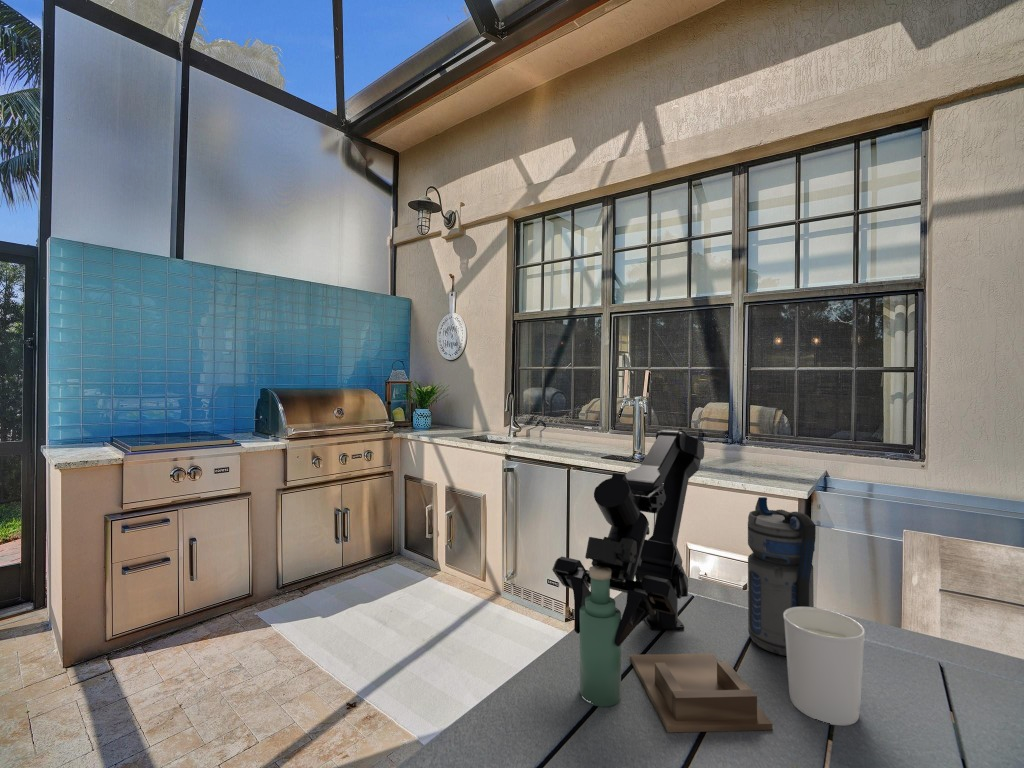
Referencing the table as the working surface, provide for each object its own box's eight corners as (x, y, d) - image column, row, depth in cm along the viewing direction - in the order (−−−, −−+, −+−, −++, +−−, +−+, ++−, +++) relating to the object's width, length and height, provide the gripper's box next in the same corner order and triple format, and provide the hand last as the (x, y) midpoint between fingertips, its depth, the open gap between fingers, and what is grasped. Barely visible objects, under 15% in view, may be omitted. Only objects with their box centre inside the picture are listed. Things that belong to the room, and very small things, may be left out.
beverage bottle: (784, 671, 78) (783, 513, 79) (734, 631, 91) (733, 496, 92) (840, 666, 80) (838, 511, 80) (783, 627, 93) (782, 495, 93)
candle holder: (826, 736, 63) (825, 642, 64) (768, 691, 73) (767, 610, 73) (884, 723, 66) (883, 633, 66) (820, 681, 75) (819, 603, 76)
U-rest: (629, 659, 81) (629, 636, 81) (712, 658, 82) (712, 635, 82) (667, 732, 64) (667, 702, 64) (772, 729, 64) (772, 700, 64)
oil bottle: (576, 682, 75) (576, 562, 75) (615, 681, 75) (615, 562, 76) (583, 707, 69) (583, 577, 69) (625, 706, 69) (625, 576, 70)
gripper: (558, 507, 81) (521, 596, 72) (671, 524, 70) (645, 632, 61) (579, 543, 87) (548, 629, 78) (686, 564, 77) (665, 667, 68)
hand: (596, 638), depth 71 cm, fingers closed on oil bottle, 6 cm apart
